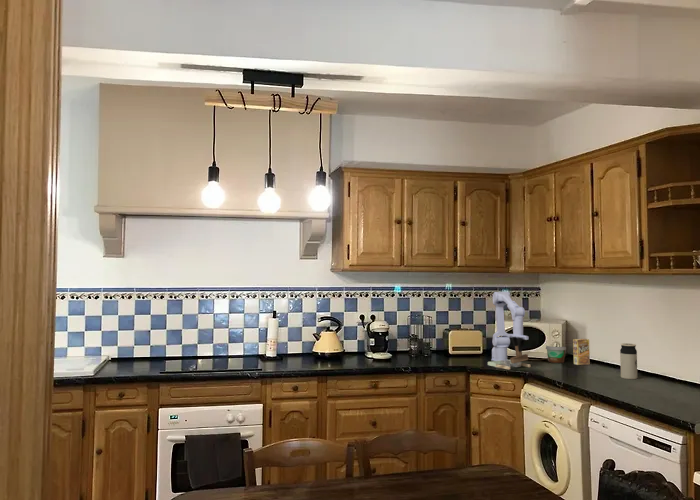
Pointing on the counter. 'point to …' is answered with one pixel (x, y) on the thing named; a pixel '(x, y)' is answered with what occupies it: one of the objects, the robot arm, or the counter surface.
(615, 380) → the counter surface
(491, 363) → the tray
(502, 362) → the light grey cube
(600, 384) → the counter surface
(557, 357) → the food container
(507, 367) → the slot rails
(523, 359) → the l-shaped wooden block
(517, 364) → the gray cube
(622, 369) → the travel mug
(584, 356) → the candy box
